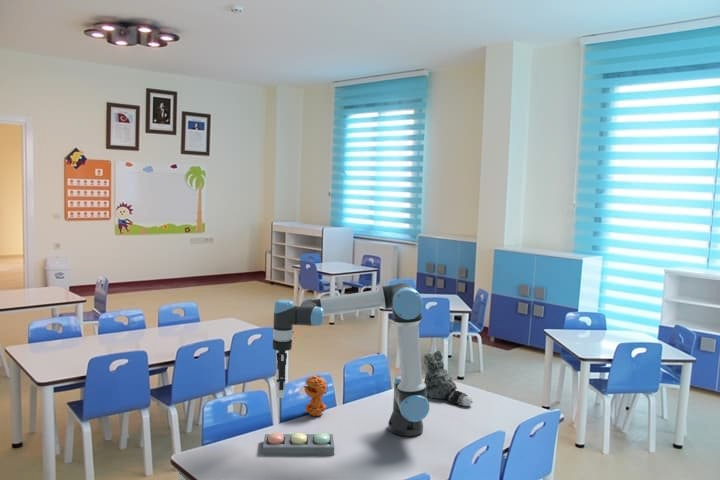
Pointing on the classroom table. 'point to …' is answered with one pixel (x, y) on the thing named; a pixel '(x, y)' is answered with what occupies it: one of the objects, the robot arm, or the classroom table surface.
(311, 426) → the classroom table surface
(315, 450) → the button panel
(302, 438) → the yellow button
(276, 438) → the coral button
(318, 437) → the green button
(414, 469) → the classroom table surface
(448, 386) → the raccoon plush
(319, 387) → the toy dinosaur
